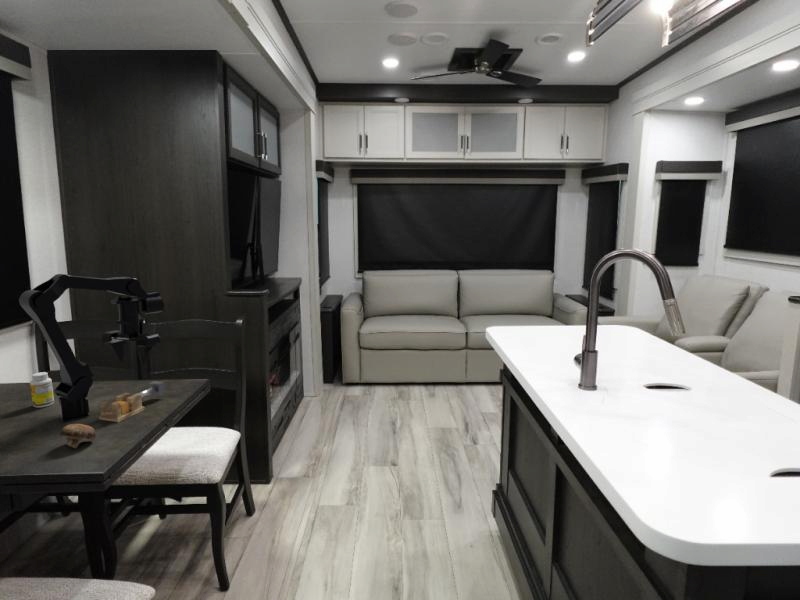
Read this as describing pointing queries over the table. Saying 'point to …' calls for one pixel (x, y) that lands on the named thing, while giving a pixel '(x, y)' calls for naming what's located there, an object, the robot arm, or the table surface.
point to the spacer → (123, 406)
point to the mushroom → (77, 434)
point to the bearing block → (115, 414)
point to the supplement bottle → (41, 390)
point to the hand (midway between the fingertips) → (132, 364)
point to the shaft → (153, 389)
